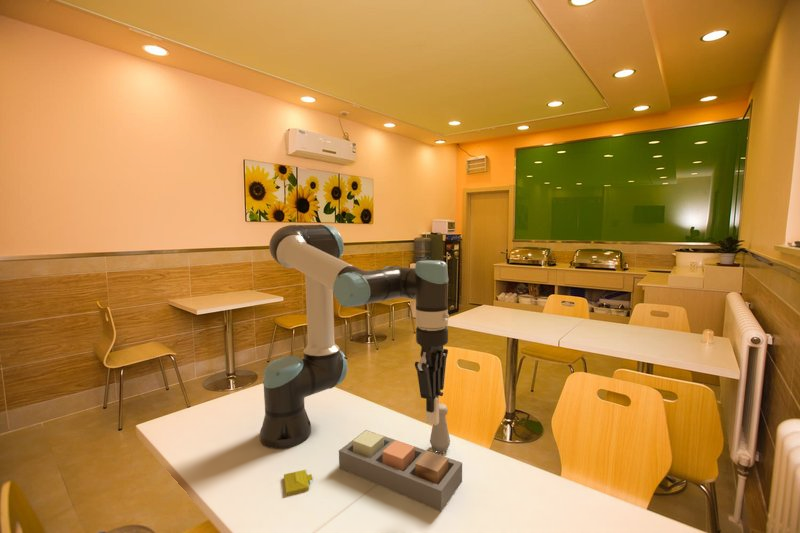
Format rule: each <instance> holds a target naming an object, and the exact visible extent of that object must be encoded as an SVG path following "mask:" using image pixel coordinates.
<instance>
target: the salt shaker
mask: <svg viewBox="0 0 800 533" xmlns="http://www.w3.org/2000/svg"><path fill="white" fill-rule="evenodd" d="M448 409H449V408H448V406H447V405H446V404H445V403H440V402H439V423H438V424H437V425H433V424H432V427H431V433H430V439H429V443H430V445H431V448H432V449H433V451H434V452H436V451H437V452H436V453H441V452H443V453H445V452H446V450H447V451H448V449H449V447H450V445H451V439H450V438H451V437H450V433H449V427H448V421H447V417H446V415H448V411H449V410H448ZM444 451H445V452H444Z"/></svg>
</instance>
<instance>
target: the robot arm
mask: <svg viewBox="0 0 800 533" xmlns="http://www.w3.org/2000/svg"><path fill="white" fill-rule="evenodd" d="M268 247H269V249H268V250H269V254H270V255H271V257H272V259H274V261H275V262H276V263H277V264H279V265H280V266H283V267H285V268H288V269H295V270H297V271H299V272H300V273H302V274H304V276H305V277H304V278H305V299H306V300H305V302H306V304H305V306H306V328H307V329H306V331H307V346H306V347H304V349H303V358H302V357H300V356H298V355H290V356H282V357H280V358H276V359H274V360H272V361H270V362H269V363H268V364H267V365H266V367H265V368H264V369H263V379H262V385H263V396H264V411H265V412H264V418H263V420H262V421H263V422H262V426H261V429H260V431H259V439H260V440H259V441H260V443H261V444H262V445H263V446H265V447H266V448H270V449H277V450H278V449H285V448H292V447H296V446H297V445H300V444H302V443H304V442H305V441H306V440H308V439H309V437H310V435H311V433H312V423H311V421H310V419H309V415H308V413H307V411H306V408H305V398H307V397H310V396H312V395H315V394H319V393H320V392H324V391H326V390H329V389H333V388H334V387H336V386H339V385H340V384H342V383H343V381H344V380H345V379H346V377H347V374H348V361H347V359H346V355H345V354H344V352H343V351H341V349H340V346H339V345H337V343H335V315H334V314H335V313H334V299H335V300H337V302H338V304H339V305H340V306H342V307H344V308H351V307H355V308H356V307H360V306H364V305H368V304H373V303H377V302H378V303H379V302H384V301H390V300H395V299H399V298H403V299H411V300H415V325H416V326H417V327H416V328H415V339H416V340H415V341H416V343H417V344H418V345H419V347H421V349H420V358H419V361H415V362H414V368H415V370H416V373H417V380H418V387H419V393H420V394H419V395H420V398H421V399H425V404H426V405H425V410H426V411H425V413H426V414H425V416H426V418H425V419H426V422H425V423H426V424H430V425H432V426H433V425H437V424H438V423H439V403H440V397H442V396H444V392H442V391H443V390H444V388H445V378H446V368H447V367H446V366H447V358H448V354H449V350H448V348H444V346H445V345H447V344H448V343H449V328H448V324H449V318H450V314H449V306H448V305H449V304H448V301H449V300H448V298H449V297H448V296H449V294H448V293H449V279H450V278H449V273H448V264H447V263H446V262H445V261H443V260H432V259H431V260H419V261H416V263H415V264H414V266H415V268H413V267H405V266H404V267H403V266H399V265H393V266H384V267H383V268H382V269H381V268H380V269H379V268H378V269H372V270H363V269H361V268H358V267H356V266H355V265H354V264H353V265H352V264H350V263H349V262H346V261H344V260H343V259H342V257H343V254H344V251H345V249H344V248H345V245H344V239H343V236H342V235H341V232H339V230H338V229H337V228H336V227H334V226H333V225H327V224H322V223H321V224H288V225H284V226H282V227H281V228H278V229H277V230H276V231H274V233H273V234H272V235H271V238H270V240H269V245H268Z"/></svg>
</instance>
